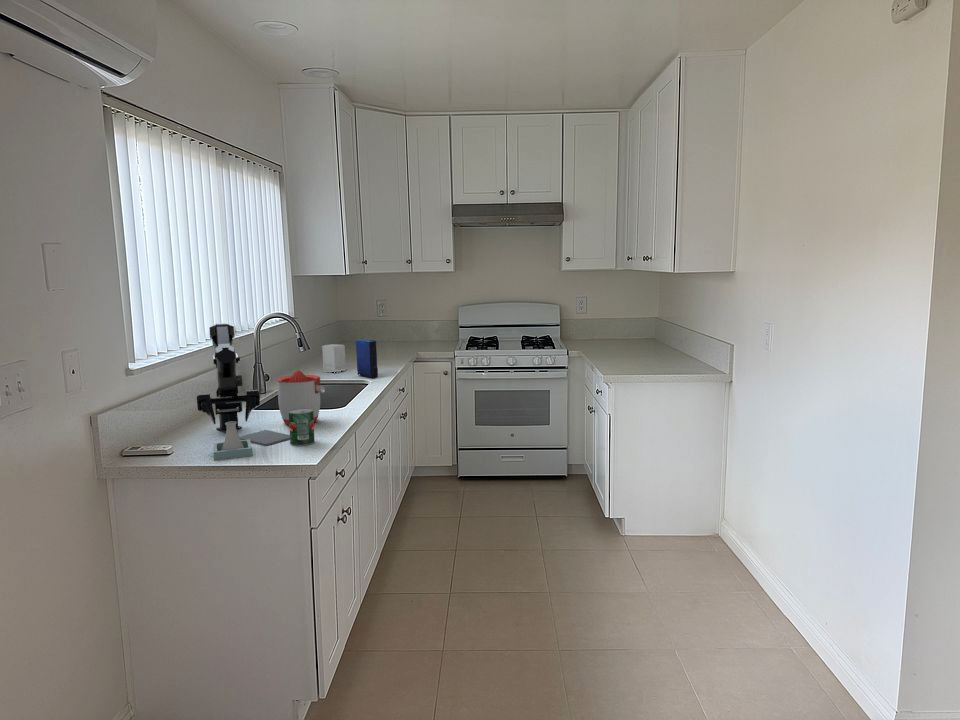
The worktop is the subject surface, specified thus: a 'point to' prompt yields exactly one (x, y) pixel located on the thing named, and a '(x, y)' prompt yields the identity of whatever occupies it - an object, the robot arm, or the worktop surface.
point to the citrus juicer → (299, 394)
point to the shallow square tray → (232, 451)
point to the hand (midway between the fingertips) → (230, 422)
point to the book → (366, 358)
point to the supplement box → (333, 357)
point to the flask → (231, 437)
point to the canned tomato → (301, 426)
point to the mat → (265, 437)
